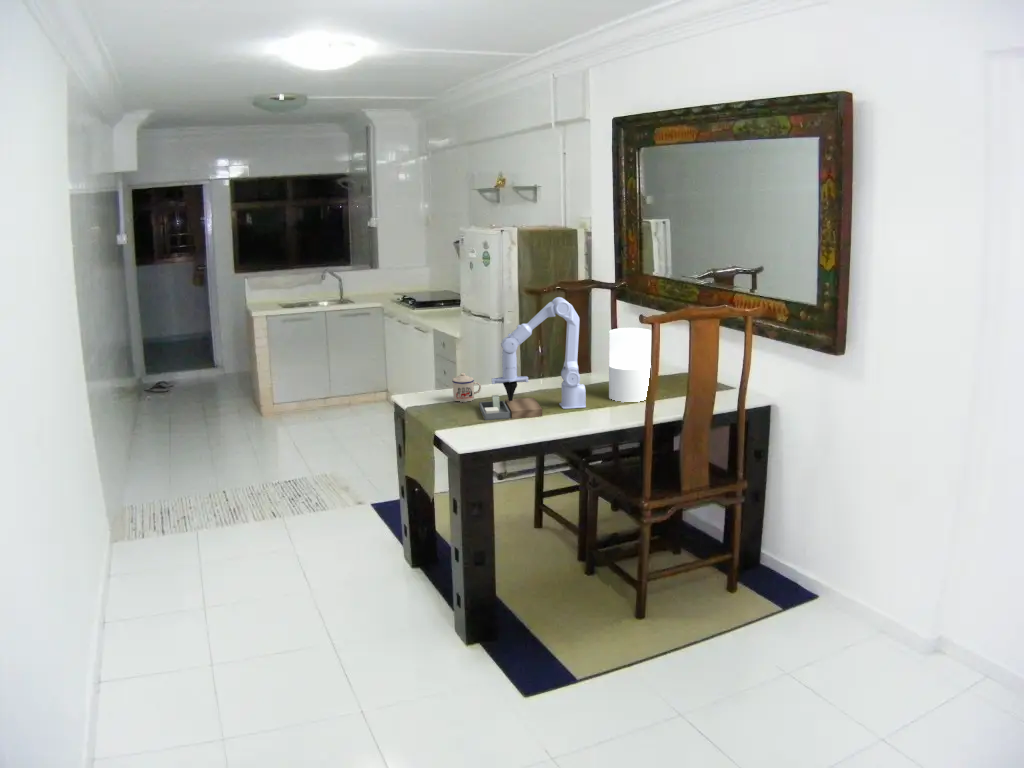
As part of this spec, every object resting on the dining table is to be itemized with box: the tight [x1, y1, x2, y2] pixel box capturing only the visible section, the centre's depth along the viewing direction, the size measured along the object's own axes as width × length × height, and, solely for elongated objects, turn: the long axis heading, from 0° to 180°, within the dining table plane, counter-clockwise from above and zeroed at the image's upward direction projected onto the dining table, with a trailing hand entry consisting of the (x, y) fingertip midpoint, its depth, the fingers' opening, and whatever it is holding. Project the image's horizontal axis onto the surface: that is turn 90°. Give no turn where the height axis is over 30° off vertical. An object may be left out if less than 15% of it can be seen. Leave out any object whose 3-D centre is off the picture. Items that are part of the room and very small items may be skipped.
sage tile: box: [491, 394, 500, 410], centre depth 337 cm, size 5×5×2 cm
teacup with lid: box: [452, 372, 482, 403], centre depth 353 cm, size 12×9×12 cm
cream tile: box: [485, 407, 499, 413], centre depth 328 cm, size 5×5×2 cm
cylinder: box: [608, 327, 652, 403], centre depth 349 cm, size 17×17×28 cm
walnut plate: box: [504, 397, 543, 419], centre depth 335 cm, size 12×18×3 cm, turn 9°
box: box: [478, 400, 512, 421], centre depth 333 cm, size 10×18×2 cm, turn 9°
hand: (510, 400), depth 338 cm, fingers closed
